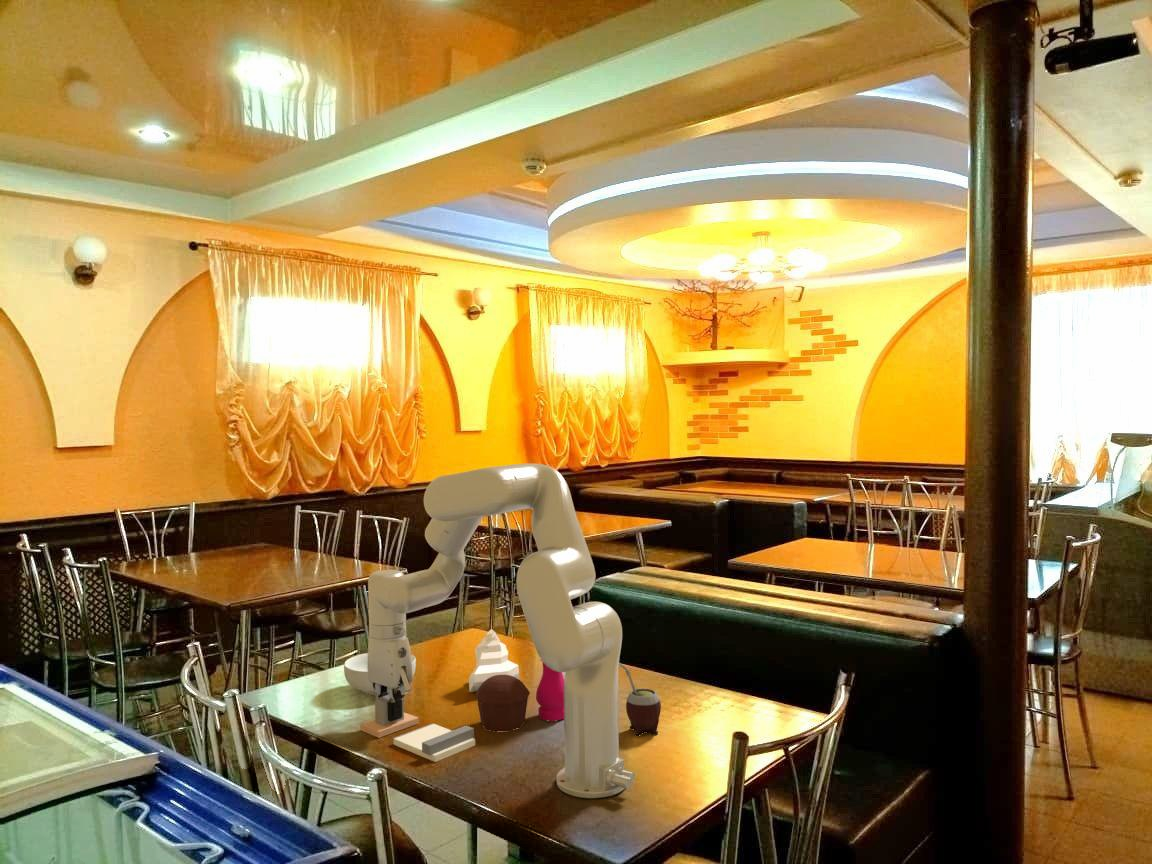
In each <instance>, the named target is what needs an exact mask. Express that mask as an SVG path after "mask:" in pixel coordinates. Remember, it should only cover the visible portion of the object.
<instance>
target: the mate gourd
mask: <svg viewBox="0 0 1152 864" xmlns="http://www.w3.org/2000/svg"><path fill="white" fill-rule="evenodd" d="M619 667H621V668H623V670H624V672H625V673H626V676H628V680H629V683H630V685H631V688H632V690H630V692H629V694H628V696H627V698H626V703H625V709H626V710H625V711H626V714H627V717H628V719H629V722H630V726H629V729H630V730H631V729H634V730H633V731H635V730H636V731H635V732H636V733H634V736H635V735H636V736H639V735H641V734H642V733H643V734H645V733H644V732H647V733H646V734H648V733H651V734H650V735H653V734H656V735H655V736H657V735H658V734H659V732H658V731H657V730H658V727H659V722H660V715H661V709H662V706H661V698H660V696H659V695H658V693H657V692H656V691H655V690H653V689H650V688H636V686H635V684H634V681H633V678H632V676H631V675H632V674H631V671H630V670H629V669H628V667H626V666H625V665H624V664H622V663H620V662H619ZM643 734H642V735H643ZM642 735H641V736H642ZM636 736H635V737H636ZM639 737H640V736H639Z"/></svg>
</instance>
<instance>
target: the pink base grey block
mask: <svg viewBox="0 0 1152 864" xmlns="http://www.w3.org/2000/svg"><path fill="white" fill-rule="evenodd" d="M404 700H405V698H404V699H403V700H402V718H400V719H397V720H395V721H392V722H390V721H388V702H390V699H389V694H388V695H386V696H383V697H380V698H375V699H374V709H375V711H374V712H375V715H374V719H373V720H369V721H366V722H364V723H361V724H360V731H362V732H364V733H367V734H369V735H371V736H373V737H376V738H378V739H380V738H382V737H385V736H388V735H391V734H393V733H396V732H398V731H401V730H404V729H407V728H409V727H412V726H415V725H418V724H420V722H419V721H420V720H419V717H418V716H416V715H414V714H410V713H407V712H405V703H404Z"/></svg>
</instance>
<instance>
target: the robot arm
mask: <svg viewBox="0 0 1152 864" xmlns="http://www.w3.org/2000/svg"><path fill="white" fill-rule="evenodd" d="M423 507H424V509H425V512H426V513H427V515H428V516H429V517H430V518H431V519H430V521H429V523H428V525H427V526H426V528H425V531H424V538H425V540H426V542H427V543H428V545H429V546H430V547H431V548H432V550H434V551H436V552H437V553H438V554H437V555H436V557H435V559H434V561H433V563H432V564H431V566H430V567H429V568H428V569H424V570H418V571H416V572H415V571H414V572H411V573H406V574H404V573H403V572H402V571H401V570H399V569H381V570H377V571H376V570H375V571H373V572H372V573H370V575H369V576H368V578H367V579H368V580H367V582H368V583H367V589H368V591H367V592H368V593H367V595H368V597H367V598H368V629H369V630H368V632H369V633H368V634H369V638H368V645H367V646H368V647H367V653H368V680H369V681H370V683H371V684H372V685H373V688H374V690H375V695H374V697H375V699H377V698H380V697H383V696H386V695H389V699H390V702H388V721H390V722H392V721H395V720H397V719H400V718H402V700H403V699H404V700H405V695H407V694H409V693H410V692H411V686H410V684H412V683H413V679H414V678H413V677H414V676H413V672H412V659H411V655H412V652H411V646H410V641H409V637H407V614H409V613H413V612H416V611H420V610H422V609H424V608H425V609H426V608H429V607H432V606H436V605H439V604H441V603H443V602H445V601H446V600H447V598H449V596H450V595H451V594H452V593H453V591H454V589H455V588H456V587H457V585H458V583H459V582H460V581H461V579H462V576H463V574H464V571H465V566H466V554H465V551H464V550H465V548H466V547H467V545H468V543H469V542H470V540H471V538H472V537H473V535H474V533H475V531H476V530H477V528H478V526H479V525H480V523H481V522H482V520H483V519H484V517H488V516H490V517H491V516H496V515H500V514H501V515H502V514H508V513H512V512H518V511H523V510H528V509H529V510H532V512H531V513H532V514H531V521H530V522H531V523H530V524H531V531H532V535H533V539H534V540H535V544H536V548H537V551H535V552H532V553H531V554H528V555H527V556H525V558H524V559H523V560H522V561H521V563H520V564H519V567H518V570H517V572H516V592H517V595H518V599H519V602H520V605H521V608H522V611H523V614H524V618H525V620H526V623H527V627H528V630H529V634H530V637H531V639H532V643H533V646H534V648H535V651H536V653H537V655H538V657H539V658H540V659H541V660H542V661H543V662H542V661H541V660H540V661H541V662H542V664H543V663H544V664H545V665H546V666H547V667H548V668H550V669H552V670H554V671H557V672H562V673H564V676H563V677H564V719H563V722H564V723H563V725H564V729H563V730H564V731H563V732H564V767H563V768H562V769H560V770H559V771H558V772H557V774H556V779H555V780H556V786H557V788H559V790H560V791H562V792H563V793H564V794H567V795H570V796H573V797H577V798H583V799H601V798H602V799H603V798H607V797H611V796H615V795H617V794H619V793H621V792H622V791H623V790H627V791H630V790H631V789H632V787H633V785H634V781H635V779H636V773H635V772H633V771H630V770H626V769H625V760H624V758H621V757H620V744H619V737H620V736H619V735H620V734H619V733H620V732H619V667H620V665H619V663H620V656H621V649H622V643H623V642H622V641H623V626H622V622H621V619H620V617H619V615H618V613H617V612H616V610H614V608H612V607H611V606H610V605H609V604H607V603H604V602H601V601H588V602H583V603H581V604H578V605H575V606H573V604H572V601H571V600H573V599H576V598H578V597H581V596H583V595H584V594H587V593H588V592H589V591H590V590H591V589H592V588H593V586H594V585H595V582H596V575H597V574H596V570H595V565H594V563H593V559H592V555H591V554H590V550H589V547H588V545H587V542H586V539H585V536H584V532H583V529H582V527H581V525H580V522H579V520H578V516H577V513H576V509H575V506H574V502H573V499H572V494H571V491H570V488H569V485H568V483H567V481H566V480H565V478H564V476H563V475H562V474H561V472H559V471H558V470H556V468H554V467H552V466H550V465H545V464H541V463H518V464H517V463H516V464H509V465H508V464H506V465H499V466H489V467H484V468H483V467H482V468H479V469H473V470H469V471H462V472H457V473H453V474H445V475H441V476H438V477H435V478H434V479H433V480H431V482H430V483H429V484H428V486H427V487H426V490H425V491H424V495H423ZM395 689H397V690H395ZM394 690H395V691H394Z"/></svg>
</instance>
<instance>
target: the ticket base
mask: <svg viewBox="0 0 1152 864" xmlns="http://www.w3.org/2000/svg"><path fill="white" fill-rule="evenodd" d="M392 745H394V746H397V747H399V748H401V749H403V750H406V751H408V752H411V753H413V754H415V755H418V756H420V757H422V758H425V759H426V760H429V761H431V762H435V763H437V762H440V761H441V760H443V759H446V758H448V757H451V756H453V755H456V754H458V753H461V752H463V751H466V750H468V749H470V748H473V747H475V746H476V738H475V728H474V727H471V726H469V725H463V726H461V727H458V728H456V729H453V730H451V729H449V728H446V727H443V726H441V725H438V724H436V723H433V722H432V723H429V724H426V725H423V726H422V727H419V728H416V729H413V730H411V731H408V732H404V733H402V734H400V735H397V736H395V737H392Z"/></svg>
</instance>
